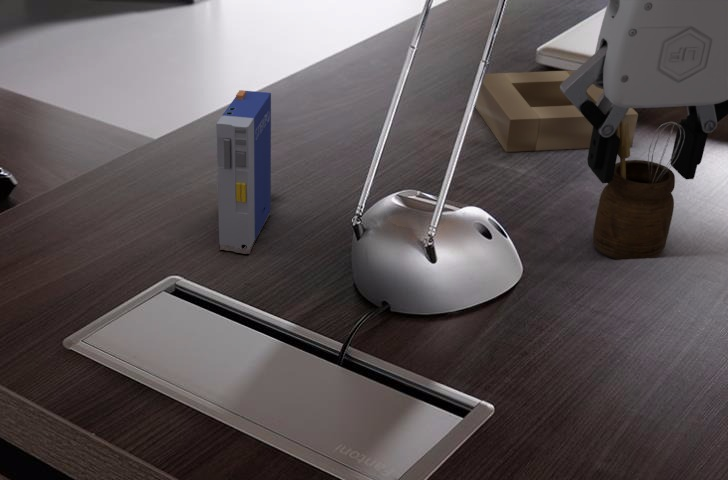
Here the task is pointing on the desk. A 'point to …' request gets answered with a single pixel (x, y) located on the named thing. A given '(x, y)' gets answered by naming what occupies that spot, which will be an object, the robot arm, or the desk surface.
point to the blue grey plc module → (244, 168)
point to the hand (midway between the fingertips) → (641, 172)
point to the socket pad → (538, 112)
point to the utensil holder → (635, 205)
